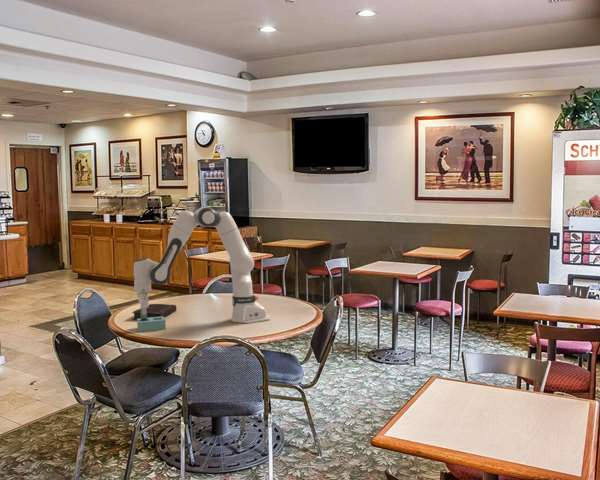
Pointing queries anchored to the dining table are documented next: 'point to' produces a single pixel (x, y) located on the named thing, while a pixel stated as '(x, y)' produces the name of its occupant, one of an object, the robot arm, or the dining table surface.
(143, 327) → the hole block
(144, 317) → the peg
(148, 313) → the diary
